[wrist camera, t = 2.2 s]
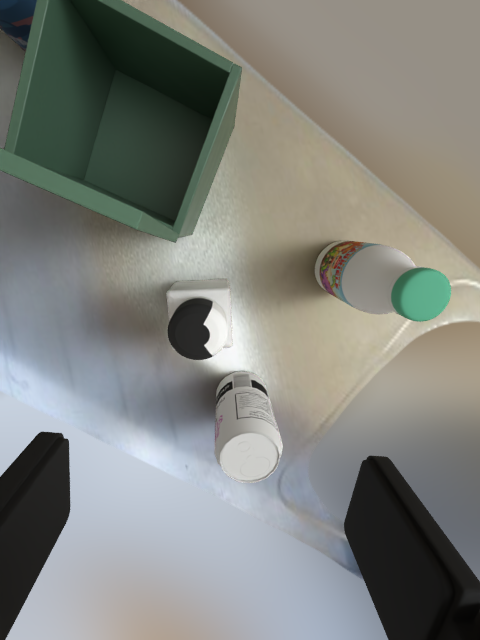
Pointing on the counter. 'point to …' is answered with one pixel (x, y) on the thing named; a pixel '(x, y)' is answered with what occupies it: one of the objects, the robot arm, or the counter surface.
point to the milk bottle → (381, 280)
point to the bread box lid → (82, 195)
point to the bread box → (124, 107)
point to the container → (200, 317)
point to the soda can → (17, 19)
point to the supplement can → (246, 429)
